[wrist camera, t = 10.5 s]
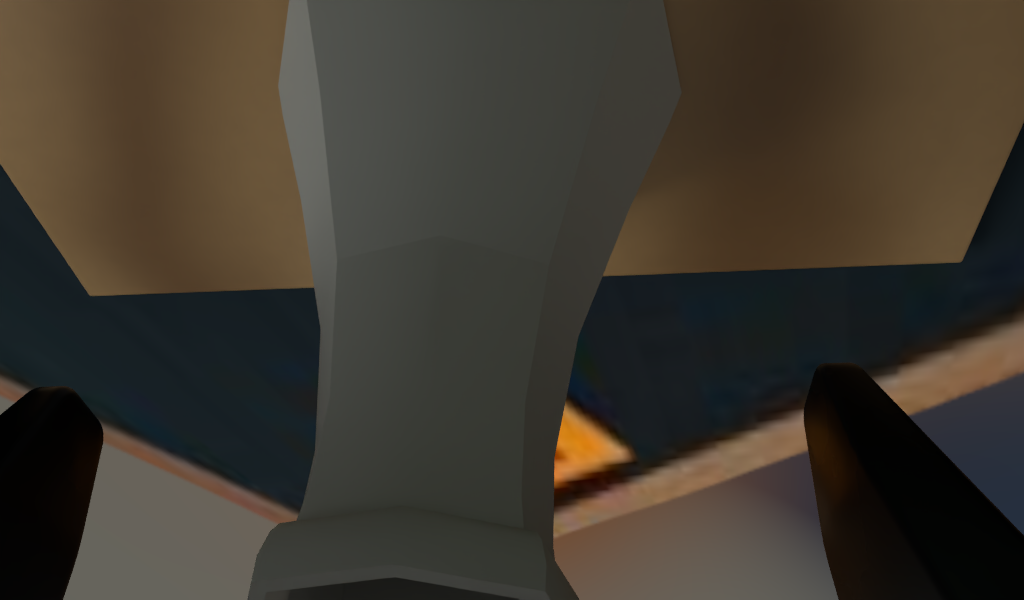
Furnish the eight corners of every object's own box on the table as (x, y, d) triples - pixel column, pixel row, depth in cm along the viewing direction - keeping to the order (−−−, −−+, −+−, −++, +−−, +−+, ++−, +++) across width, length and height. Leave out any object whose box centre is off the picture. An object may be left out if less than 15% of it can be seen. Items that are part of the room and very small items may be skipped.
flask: (653, 235, 17) (728, 767, 10) (317, 229, 17) (152, 745, 10) (717, -136, 11) (981, 430, 4) (230, -141, 12) (-253, 395, 5)
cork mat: (1199, -324, 10) (1222, -318, 10) (954, 247, 17) (962, 263, 17) (-210, -186, 12) (-232, -176, 11) (98, 282, 19) (89, 297, 19)
